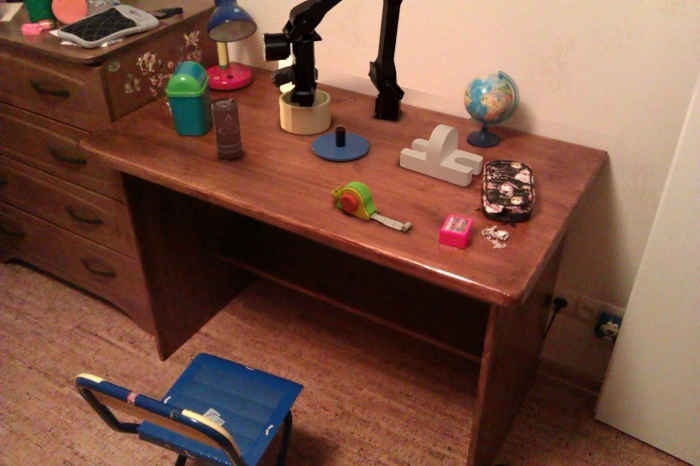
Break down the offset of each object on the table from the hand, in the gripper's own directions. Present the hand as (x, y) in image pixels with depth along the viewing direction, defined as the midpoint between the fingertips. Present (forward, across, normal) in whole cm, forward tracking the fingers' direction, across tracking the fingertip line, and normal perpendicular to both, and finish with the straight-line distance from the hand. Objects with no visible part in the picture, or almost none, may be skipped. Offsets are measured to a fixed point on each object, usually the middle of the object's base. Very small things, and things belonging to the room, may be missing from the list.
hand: (305, 114), depth 165 cm
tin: (+3, 0, 0) cm, 3 cm away
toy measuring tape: (+3, +45, +17) cm, 48 cm away
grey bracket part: (+3, +24, +34) cm, 42 cm away
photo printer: (+3, -20, -5) cm, 20 cm away
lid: (+2, +15, +10) cm, 18 cm away
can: (+3, +18, -18) cm, 26 cm away
